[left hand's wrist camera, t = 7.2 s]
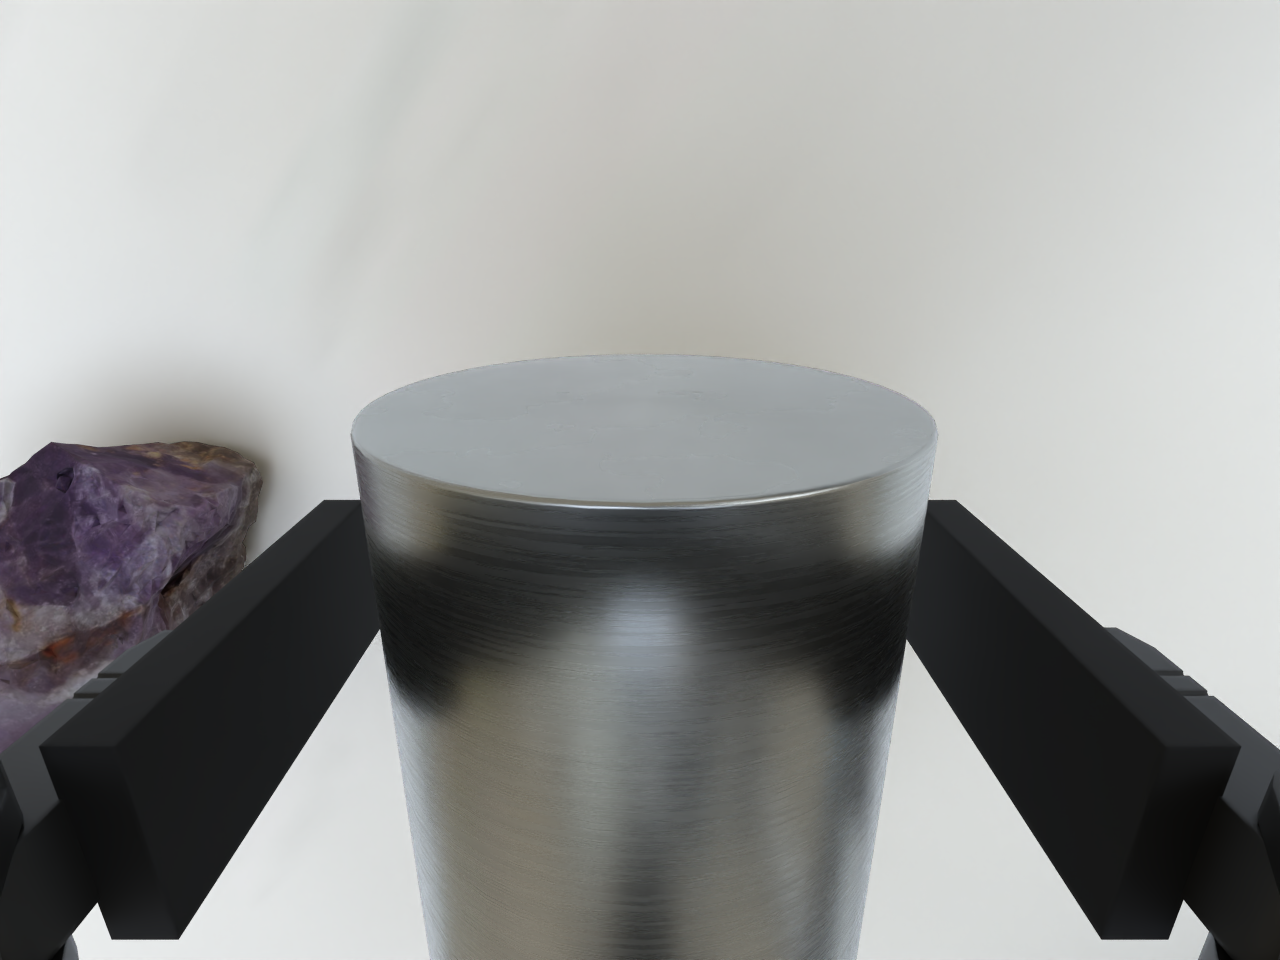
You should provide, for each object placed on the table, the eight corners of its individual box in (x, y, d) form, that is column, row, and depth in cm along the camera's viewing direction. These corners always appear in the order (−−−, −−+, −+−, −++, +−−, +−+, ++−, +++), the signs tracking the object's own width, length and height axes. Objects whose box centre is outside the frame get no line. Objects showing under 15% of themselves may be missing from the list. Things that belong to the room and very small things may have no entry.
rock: (327, 464, 28) (69, 388, 27) (219, 519, 20) (-163, 413, 19) (265, 711, 30) (23, 652, 29) (144, 855, 22) (-205, 782, 21)
